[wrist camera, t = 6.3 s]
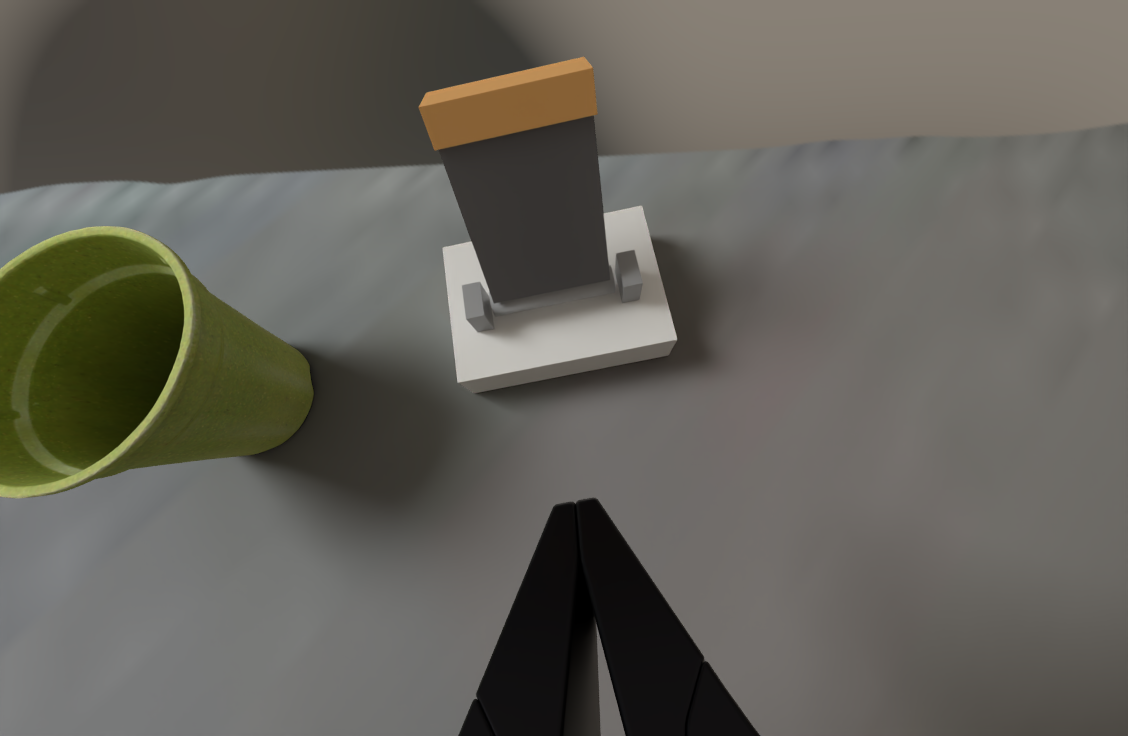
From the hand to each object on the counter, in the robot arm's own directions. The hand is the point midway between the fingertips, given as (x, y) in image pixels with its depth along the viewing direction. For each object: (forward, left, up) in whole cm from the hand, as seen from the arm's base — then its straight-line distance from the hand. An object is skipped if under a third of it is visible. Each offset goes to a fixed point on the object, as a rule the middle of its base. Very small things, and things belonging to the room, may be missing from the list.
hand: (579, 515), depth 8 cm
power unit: (+7, -6, -12) cm, 15 cm away
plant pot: (+17, +7, -12) cm, 22 cm away
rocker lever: (+7, -6, -8) cm, 12 cm away
